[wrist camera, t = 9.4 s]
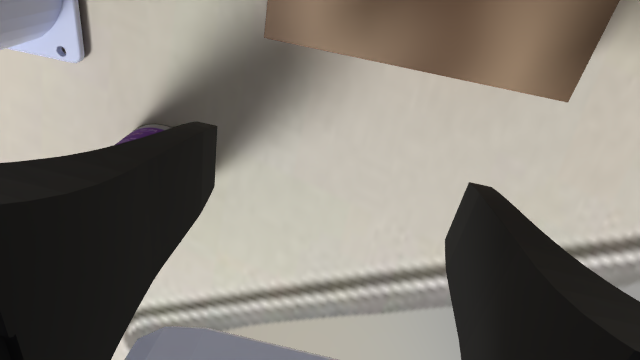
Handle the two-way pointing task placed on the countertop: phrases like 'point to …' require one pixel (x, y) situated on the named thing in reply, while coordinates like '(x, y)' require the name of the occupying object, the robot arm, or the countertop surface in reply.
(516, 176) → the countertop surface
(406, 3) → the walnut box
